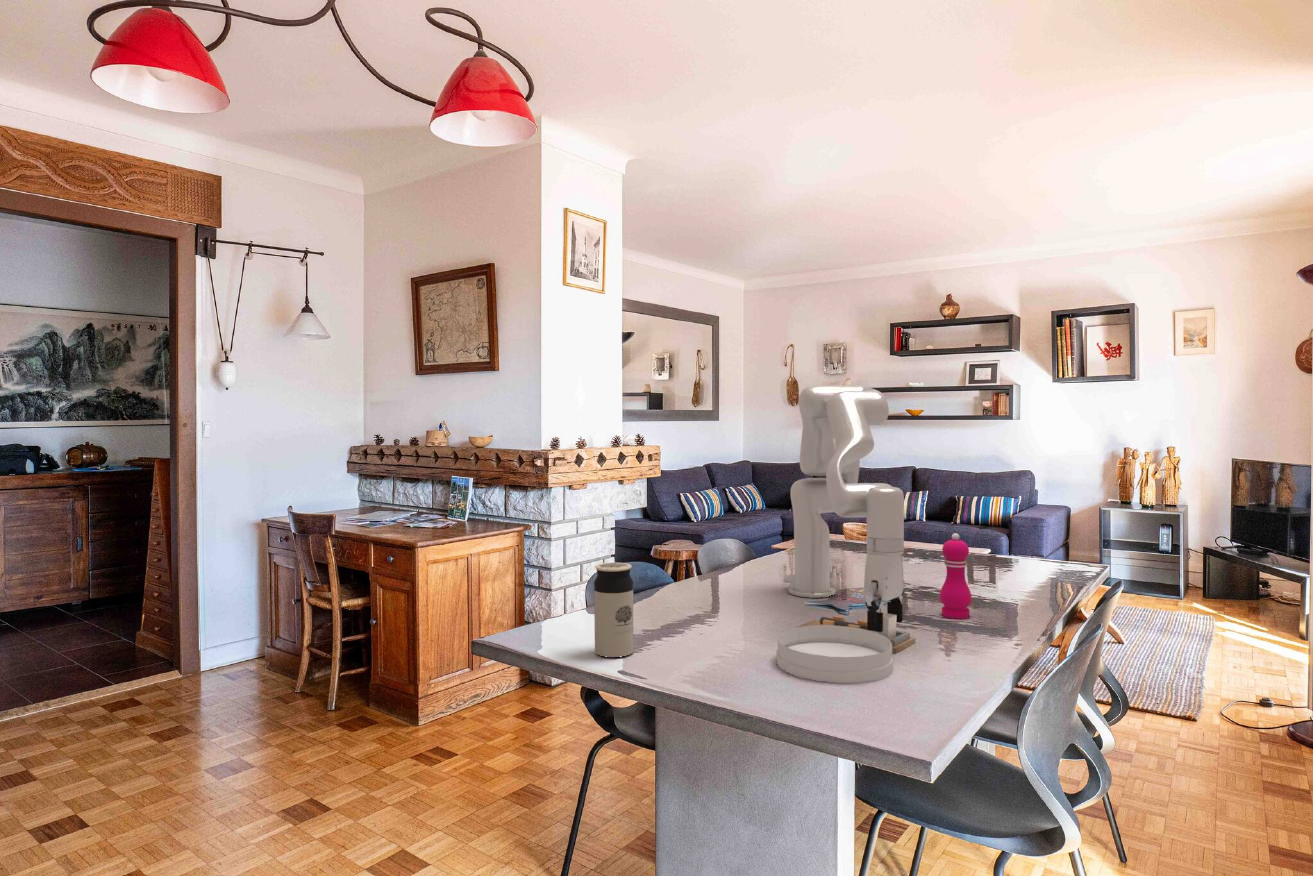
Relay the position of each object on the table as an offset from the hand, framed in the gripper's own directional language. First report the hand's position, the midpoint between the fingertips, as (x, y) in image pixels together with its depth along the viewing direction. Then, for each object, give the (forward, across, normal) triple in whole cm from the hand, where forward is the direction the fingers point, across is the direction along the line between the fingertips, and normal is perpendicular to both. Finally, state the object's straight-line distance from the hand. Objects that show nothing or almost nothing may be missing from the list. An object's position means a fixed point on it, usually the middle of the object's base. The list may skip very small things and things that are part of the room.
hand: (885, 626), depth 162 cm
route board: (+4, 0, -8) cm, 8 cm away
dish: (+4, +19, -2) cm, 20 cm away
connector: (+2, 0, -7) cm, 7 cm away
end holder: (+3, 0, 0) cm, 3 cm away
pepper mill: (+4, -33, +3) cm, 33 cm away
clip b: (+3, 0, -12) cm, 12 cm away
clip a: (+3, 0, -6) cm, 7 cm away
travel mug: (+4, +41, -40) cm, 57 cm away
